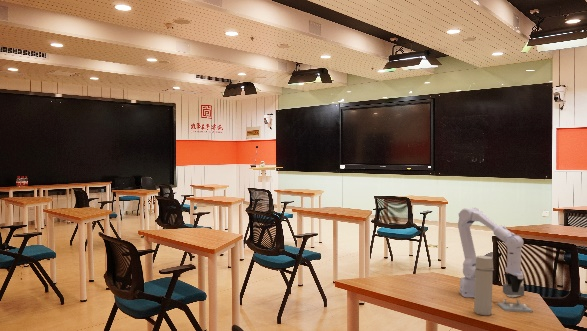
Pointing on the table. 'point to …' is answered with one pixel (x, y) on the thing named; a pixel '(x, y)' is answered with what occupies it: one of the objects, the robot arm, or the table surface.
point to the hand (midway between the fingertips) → (513, 290)
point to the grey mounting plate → (514, 306)
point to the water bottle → (483, 285)
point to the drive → (508, 290)
